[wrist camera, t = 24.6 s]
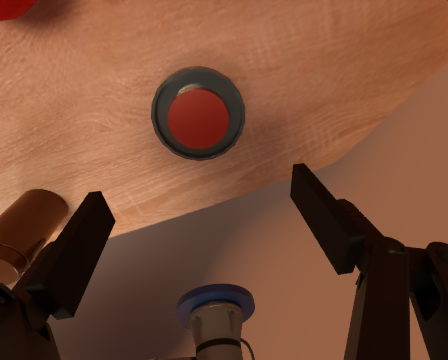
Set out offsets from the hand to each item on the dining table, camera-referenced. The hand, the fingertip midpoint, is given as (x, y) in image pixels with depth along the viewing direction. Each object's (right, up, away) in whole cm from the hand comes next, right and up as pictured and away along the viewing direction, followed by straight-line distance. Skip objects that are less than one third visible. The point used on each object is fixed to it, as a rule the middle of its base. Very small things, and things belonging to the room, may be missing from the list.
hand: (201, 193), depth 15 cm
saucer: (-2, +9, +14) cm, 17 cm away
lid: (-2, +9, +12) cm, 15 cm away
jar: (-27, -3, +19) cm, 33 cm away
